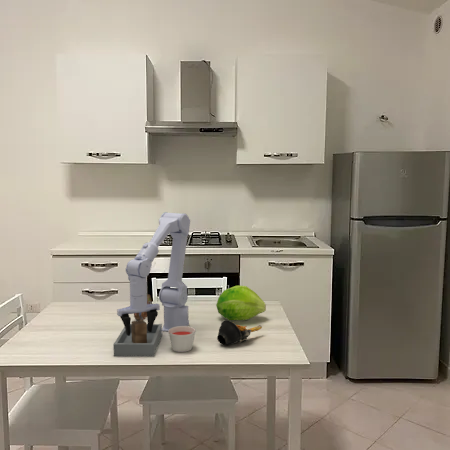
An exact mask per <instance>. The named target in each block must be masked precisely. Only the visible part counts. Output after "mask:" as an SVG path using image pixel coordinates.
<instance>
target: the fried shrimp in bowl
mask: <svg viewBox="0 0 450 450" xmlns="http://www.w3.org/2000/svg"><path fill="white" fill-rule="evenodd" d="M262 328H263V326H262V325H257V326H254V327H251V328H247V325H244V326H243V325H239V324H236V323H235V322H234V321H232V320H228V319H225V320H223V321H222V322H221V323H220V327H219V328H218V333H217V337H216V339H217V341H218V342H219V344H221V345H222V346H226V345H233V344H235V343H239V344H241V343H245V342H246V341H248V338H249V337H250V335H251V333H253V332H256V331H257V332H258V331H259V330H261V329H262Z"/></svg>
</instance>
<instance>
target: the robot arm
mask: <svg viewBox="0 0 450 450" xmlns="http://www.w3.org/2000/svg"><path fill="white" fill-rule="evenodd" d="M190 225H191V219H190V217H189V216H188V214H187V213H184V212H183V213H178V212H168V211H165V212H163V213H162V214H161V215H160V217H159V219H158V226H157V228H156V230H155V231H154V234H153V236H152V237H151V239H150V241H149V242H145V243H143V245H142V247H141V248H140V250H139V251H138V253H137V254H136V256H135V257H134V258H133V259H131V260H129V261H128V262H127V264H126V268H125V273H126V275H127V280H128V281H129V306H126V307H122V308H118V309H116V315H117V317H120V319H121V321H122V323H123V325H124V327H125V329H126V334H127V335H128V336H130V324H131V322H132V321H131V320H132V318H131V317H130V315H132V314H133V315H134V313H140V312H147V317H146V318H147V328H148V331H149V332H152V327H153V324H155V321H156V319H157V316H158V314H159V312H158V311H160V308H161V307H160V304H159V303H152V304H147V295H148V279H147V278H148V276H149V274H150V273H151V268H152V266H153V265H152V264H153V261H154V260H155V258H156V257H157V256H158V254H159V250H160V249H159V247H160V245H161V244H162V242H163V241H164V240H165V239H166V238H167V237H168V235H170V236H171V238H172V245H171V251H170V253H171V254H170V259H169V269H168V274H167V279H166V280H165V281H164V282H162V283H161V287H160V291H159V293H158V300H159V302H160V303H161V306H163V325H162V332H169V329H171V328H173V327H177V326H189V325H190V319H189V306H188V305H186V303H187V301H188V299H189V298H188V297H189V295H188V286H187V285H186V283H185V282H184V281H183V275H184V274H183V272H184V265H185V258H186V249H187V244H188V242H187V241H188V236H189V233H190Z"/></svg>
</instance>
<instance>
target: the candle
mask: <svg viewBox="0 0 450 450" xmlns="http://www.w3.org/2000/svg"><path fill="white" fill-rule="evenodd" d="M195 335H196V329H195V328H194V327H192V326H189V325H188V326H177V327H173V328H171V329H169V331H168V336H169V340H170V346H171V350H172V351H173V352H177V353H178V352H179V353H185V352H190V351H191V350H192V349H193V345H194V340H195Z"/></svg>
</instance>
